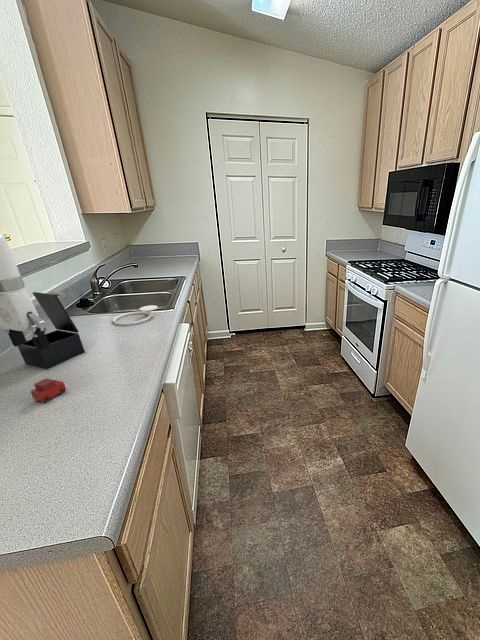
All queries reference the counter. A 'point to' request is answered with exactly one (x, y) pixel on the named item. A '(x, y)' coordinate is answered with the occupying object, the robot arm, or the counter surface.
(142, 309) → the hand towel holder
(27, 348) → the open lidded box
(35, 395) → the toy car
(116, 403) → the counter surface
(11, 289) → the robot arm
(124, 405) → the counter surface
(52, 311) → the box lid
